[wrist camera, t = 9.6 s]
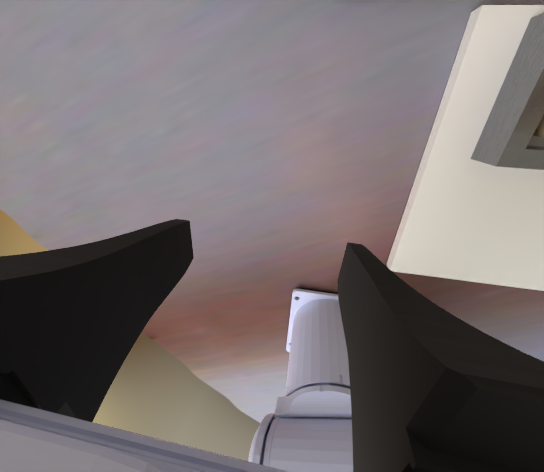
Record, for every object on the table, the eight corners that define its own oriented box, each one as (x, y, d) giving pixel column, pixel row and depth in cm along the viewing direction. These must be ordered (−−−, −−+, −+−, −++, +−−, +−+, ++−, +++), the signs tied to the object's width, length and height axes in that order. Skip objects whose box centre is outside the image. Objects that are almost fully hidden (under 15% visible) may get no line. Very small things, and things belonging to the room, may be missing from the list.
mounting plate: (536, 283, 20) (546, 291, 19) (386, 264, 21) (389, 270, 20) (736, 12, 12) (770, 4, 11) (471, 12, 13) (482, 5, 12)
